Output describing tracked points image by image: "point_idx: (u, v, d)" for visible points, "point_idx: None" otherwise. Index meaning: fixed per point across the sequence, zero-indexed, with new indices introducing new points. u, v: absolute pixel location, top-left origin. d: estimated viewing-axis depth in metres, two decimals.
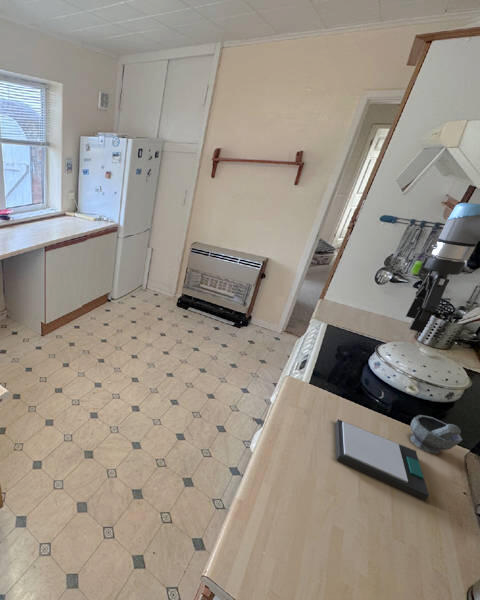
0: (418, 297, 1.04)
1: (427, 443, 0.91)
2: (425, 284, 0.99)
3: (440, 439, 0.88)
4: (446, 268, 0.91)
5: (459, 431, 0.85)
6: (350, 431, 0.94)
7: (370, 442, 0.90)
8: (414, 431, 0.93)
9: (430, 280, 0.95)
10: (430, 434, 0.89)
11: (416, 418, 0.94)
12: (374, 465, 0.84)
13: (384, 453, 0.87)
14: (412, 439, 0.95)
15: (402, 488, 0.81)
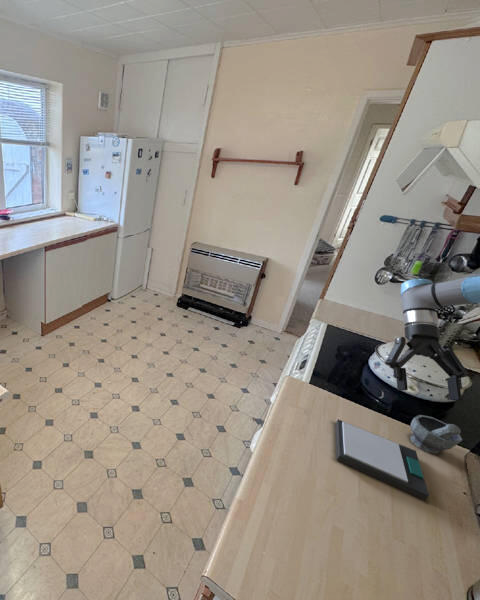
0: (451, 376, 0.97)
1: (427, 443, 0.91)
2: (430, 356, 1.00)
3: (440, 439, 0.88)
4: (408, 331, 1.01)
5: (459, 431, 0.85)
6: (350, 431, 0.94)
7: (370, 442, 0.90)
8: (414, 431, 0.93)
9: None
10: (430, 434, 0.89)
11: (416, 418, 0.94)
12: (374, 465, 0.84)
13: (384, 453, 0.87)
14: (412, 439, 0.95)
15: (402, 488, 0.81)
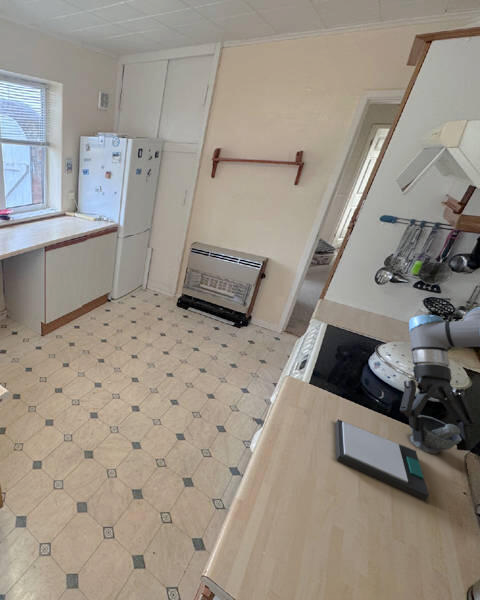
0: (458, 423, 0.91)
1: (426, 443, 0.91)
2: (439, 399, 0.94)
3: (439, 439, 0.88)
4: (417, 371, 0.96)
5: (459, 431, 0.85)
6: (350, 431, 0.94)
7: (370, 442, 0.90)
8: None
9: None
10: (429, 434, 0.89)
11: None
12: (374, 465, 0.84)
13: (384, 453, 0.87)
14: (412, 439, 0.95)
15: (402, 488, 0.81)
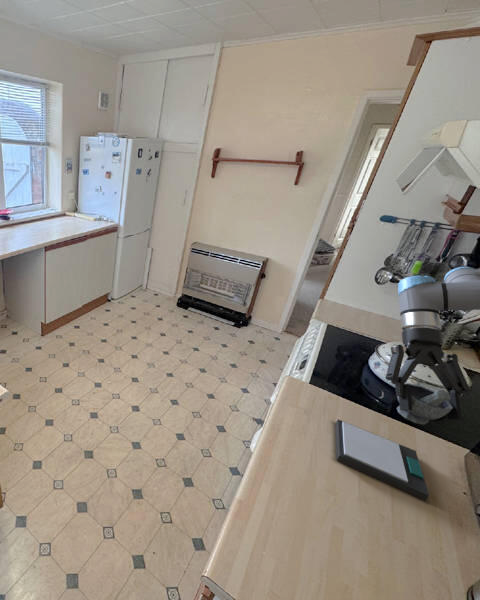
0: (449, 391, 0.83)
1: (414, 412, 0.82)
2: (429, 366, 0.86)
3: (428, 407, 0.80)
4: (406, 336, 0.88)
5: (449, 397, 0.76)
6: (350, 431, 0.94)
7: (370, 442, 0.90)
8: None
9: None
10: (417, 402, 0.81)
11: None
12: (374, 465, 0.84)
13: (384, 453, 0.87)
14: (398, 409, 0.87)
15: (402, 488, 0.81)
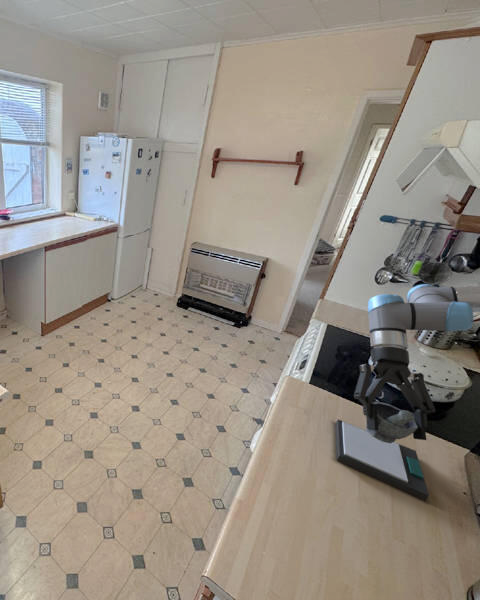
0: (415, 410, 0.84)
1: (381, 431, 0.83)
2: (397, 385, 0.87)
3: (393, 427, 0.81)
4: (374, 354, 0.88)
5: (413, 417, 0.77)
6: (350, 431, 0.94)
7: (370, 442, 0.90)
8: None
9: None
10: (383, 421, 0.82)
11: None
12: (374, 465, 0.84)
13: (384, 453, 0.87)
14: None
15: (402, 488, 0.81)
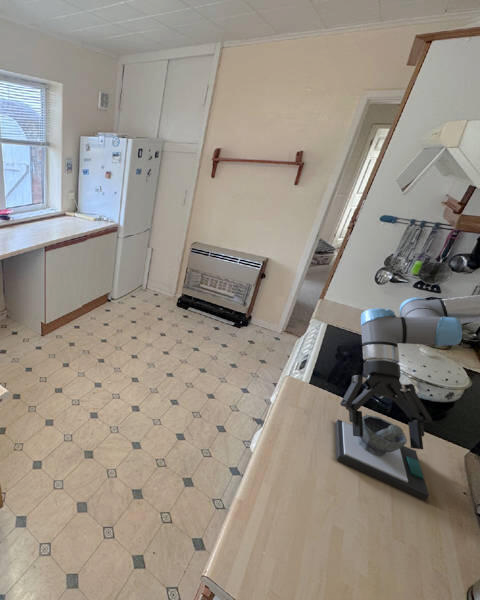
0: (413, 421, 0.86)
1: (371, 445, 0.86)
2: (390, 397, 0.89)
3: (383, 441, 0.83)
4: (366, 368, 0.90)
5: (401, 432, 0.79)
6: (350, 431, 0.94)
7: None
8: None
9: None
10: (374, 435, 0.84)
11: (362, 418, 0.89)
12: (374, 465, 0.84)
13: None
14: (358, 440, 0.90)
15: (402, 488, 0.81)
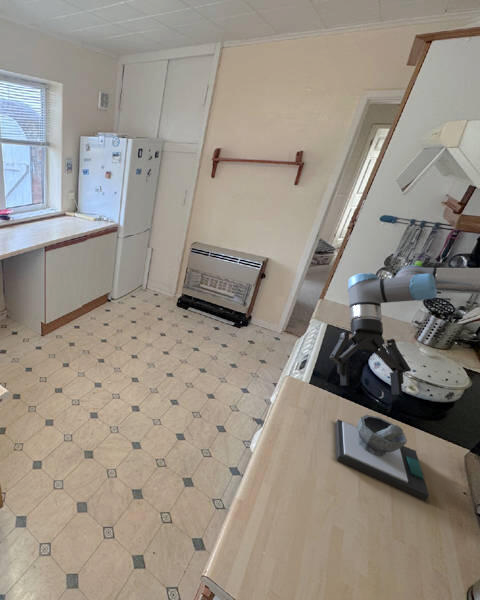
0: (394, 371, 0.96)
1: (371, 445, 0.86)
2: (374, 351, 0.98)
3: (383, 441, 0.83)
4: (353, 326, 1.00)
5: (401, 432, 0.79)
6: (350, 431, 0.94)
7: None
8: (359, 432, 0.88)
9: None
10: (374, 435, 0.84)
11: (362, 418, 0.89)
12: (374, 465, 0.84)
13: None
14: (358, 440, 0.90)
15: (402, 488, 0.81)
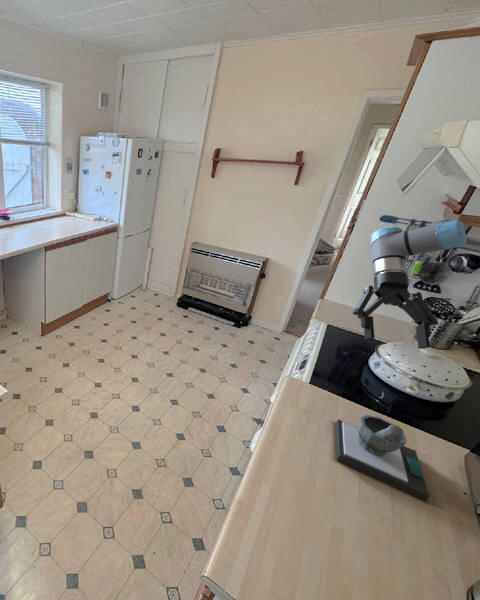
0: (420, 325, 0.93)
1: (371, 445, 0.86)
2: (399, 306, 0.96)
3: (383, 441, 0.83)
4: (377, 280, 0.97)
5: (401, 432, 0.79)
6: (350, 431, 0.94)
7: None
8: (359, 432, 0.88)
9: None
10: (374, 435, 0.84)
11: (362, 418, 0.89)
12: (374, 465, 0.84)
13: None
14: (358, 440, 0.90)
15: (402, 488, 0.81)
